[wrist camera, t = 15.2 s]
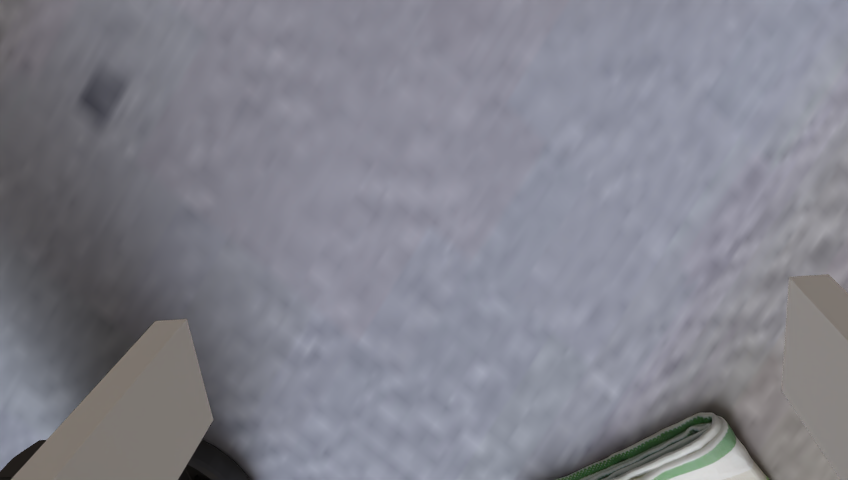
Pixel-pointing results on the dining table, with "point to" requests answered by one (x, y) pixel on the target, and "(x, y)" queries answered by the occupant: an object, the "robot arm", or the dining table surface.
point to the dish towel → (679, 455)
